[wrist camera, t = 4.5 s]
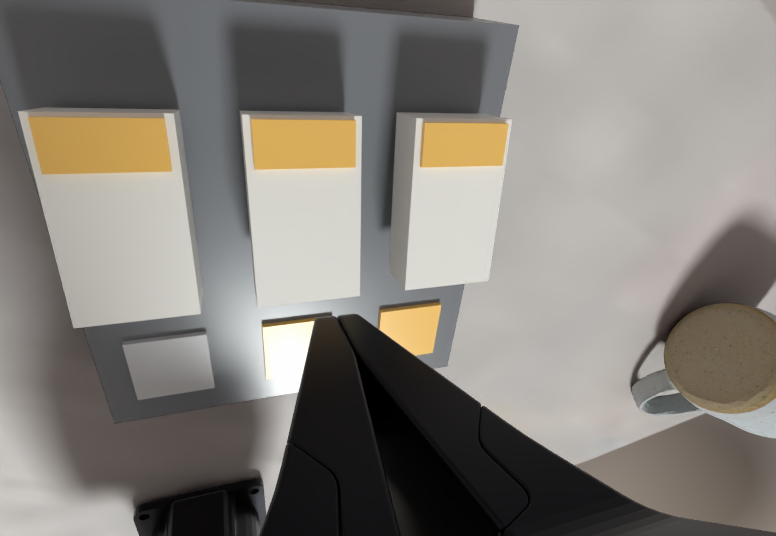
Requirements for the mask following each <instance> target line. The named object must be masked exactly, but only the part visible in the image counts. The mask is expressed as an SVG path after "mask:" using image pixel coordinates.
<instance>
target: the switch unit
mask: <svg viewBox="0 0 776 536" xmlns="http://www.w3.org/2000/svg"><path fill="white" fill-rule="evenodd" d="M518 28H519V25H513V24H507V23H501V22H496V21H490V20H484V19H478V18H470V17H459V16H448V15H437V14H426V13H415V12H404V11H393V10H382V9H370V8H359V7H348V6H337V5H326V4H315V3H304V2H293V1H281V0H0V82H1V85H2V88H3V91H4V94H5V97H6V100H7V103H8V106H9V109H10V112H11V115H12V118H13V121H14V124H15V127H16V130H17V133H18V136H19V139H20V142H21V145H22V148H23V151H24V154H25V157H26V160H27V163H28V165H29V168H30V171H31V174H32V177H33V180H34V183H35V186H36V189H37V192H38V188H37V184H36V180H35V176H34V173H33V169H32V165H31V161H30V157H29V153H28V149H27V145H26V141H25V138H24V134H23V130H22V126H21V122H20V118H19V114H18V111H23V110H30V109H37V108H43V107H52V108H113V109H175V110H180V117H181V125H182V133H183V140H184V148H185V156H186V163H187V171H188V179H189V186H190V194H191V201H192V209H193V217H194V224H195V232H196V240H197V247H198V255H199V263H200V270H201V278H202V286H203V297H202V308H201V314H197V315H188V316H179V317H170V318H162V319H153V320H144V321H135V322H126V323H117V324H108V325H99V326H91V327H83V330H84V333H85V336H86V339H87V342H88V345H89V348H90V351H91V354H92V357H93V360H94V363H95V366H96V369H97V372H98V375H99V378H100V381H101V384H102V387H103V390H104V393H105V396H106V399H107V402H108V405H109V408H110V411H111V414H112V417H113V420H114V423H115V424H116V423H122V422H127V421H133V420H139V419H145V418H151V417H156V416H162V415H168V414H174V413H180V412H185V411H191V410H197V409H203V408H208V407H214V406H220V405H226V404H232V403H237V402H243V401H249V400H255V399H261V398H266V397H272V396H278V395H284V394H290V393H295V392H299V387H300V383H301V378H302V374H303V369H304V365H305V361H306V356H307V352H308V347H309V343H310V338H311V334H312V329H313V325H314V321H315V319H316V318H318V317H326V316H335V317H336V318H337V316H339V315H345V314H354V313H355V314H358V315H360V316H361V317H363V318H364V319H365V320H367V321H368V322H369V323H371V324H372V325H374V326H375V327H376V328H378V329H379V330H380V331H382V332H383V333H385V334H386V335H387V336H389V337H390V338H391V339H393V340H394V341H396V342H397V343H398V344H400V345H401V346H402V347H404V348H405V349H407V350H408V351H409V352H411V353H412V354H413V355H415V356H416V357H418V358H419V359H420V360H422V361H423V362H424V363H426V364H427V365H429V366H430V367H431V368H433V369H434V368H440V367H446V366H447V365H448V360H449V356H450V351H451V346H452V341H453V337H454V332H455V327H456V322H457V318H458V313H459V308H460V303H461V299H462V294H463V289H464V284H458V285H449V286H440V287H431V288H422V289H414V290H404V289H403V287H402V286H401V285H400V284H399V282H398V281H397V280H396V279H395V277H394V276H393V275H392V274H391V272H390V271H389V256H390V236H391V216H392V196H393V176H394V156H395V136H396V115H397V112H408V113H468V114H488V115H493V116H498V117H500V114H501V109H502V104H503V99H504V95H505V90H506V85H507V80H508V76H509V71H510V66H511V61H512V57H513V52H514V47H515V42H516V38H517V33H518ZM240 111H298V112H348V113H352V114H356V115H360V116H362V152H361V244H360V296H357V297H348V298H339V299H330V300H321V301H312V302H303V303H295V304H286V305H277V306H268V307H259V308H258V306H257V300H256V293H255V287H254V276H253V264H252V252H251V240H250V228H249V217H248V205H247V193H246V181H245V169H244V157H243V145H242V133H241V122H240ZM38 195H39V192H38ZM39 198H40V196H39ZM40 201H41V200H40Z"/></svg>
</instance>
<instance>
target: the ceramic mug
mask: <svg viewBox="0 0 776 536" xmlns="http://www.w3.org/2000/svg"><path fill="white" fill-rule="evenodd" d="M664 363H665V368H666V369H663V370H660V371H657V372H654V373H651V374H649V375H647V376H646V377H643V378H642V379H640V380H638V381H637V382H636V383H635V384H634V385H633V387H632V395H633V397H634V400H635V402H636V405H637V407H638V409H639V410H640V411H641V412H643V413H645V414H648V415H655V416H672V415H681V414H687V413H694V412H699V411H704V412H706V413H708V414H710V415H713V416H715V417H717V418H720V419H722V420H724V421H726V422H728V423H730V424H732V425H735V426H737V427H739V428H741V429H743V430H745V431H748V432H750V433H753V434H757V435H760V436H764V437H770V438H776V316H775V315H773V314H771V313H769V312H767V311H764V310H762V309H759V308H756V307H752V306H747V305H742V304H737V303H717V304H712V305H706V306H703V307H700V308H698V309H696V310H695V311H693V312H691V313H689V314H687V315H686V316H685V317H683V318H682V319H681V320H680V321H679V322H678V323H677V324H676V325H675V326H674V328H673V329H672V331H671V332H670V334H669V336H668V338H667V341H666V344H665V348H664ZM672 390H677V391H679V392H680V393H676V394H671V395H663V396H659V395H661V394H664V393H667V392H669V391H672Z"/></svg>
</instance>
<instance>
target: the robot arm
mask: <svg viewBox="0 0 776 536" xmlns="http://www.w3.org/2000/svg"><path fill="white" fill-rule="evenodd" d="M134 522H135V525H136V528H137V531H138V533H139V536H776V533H775V532H768V531H762V530H756V529H749V528H743V527H737V526H731V525H724V524H718V523H711V522H706V521H699V520H693V519H687V518H681V517H676V516H672V515H668V514H665V513H661V512H658V511H656V510H653V509H651V508H648V507H646V506H644V505H641V504H639V503H637V502H635V501H633V500H631V499H630V498H628V497H626V496H624V495H622V494H621V493H619V492H618V491H616V490H614V489H613V488H611V487H609V486H608V485H606V484H604V483H603V482H601V481H599V480H598V479H596V478H594V477H592V476H591V475H589V474H588V473H586V472H584V471H583V470H581V469H580V468H578V467H576V466H575V465H573V464H571V463H570V462H568V461H566V460H565V459H563V458H561V457H560V456H558V455H556V454H555V453H553V452H552V451H550V450H548V449H547V448H545V447H544V446H542V445H540V444H539V443H537V442H536V441H534V440H533V439H531V438H529V437H528V436H526V435H525V434H523V433H522V432H520V431H519V430H517V429H516V428H515V427H513V426H512V425H510V424H509V423H507V422H506V421H504V420H503V419H502V418H500V417H499V416H497V415H496V414H495V413H493V412H492V411H491V410H489V409H488V408H486V407H485V406H482V407H481V404H480V403H479V402H478V401H477V400H475V399H474V398H472V397H471V396H470V395H468V394H467V393H466V392H464V391H463V390H461V389H460V388H459V387H457V386H456V385H455V384H453V383H452V382H450V381H449V380H448V379H446V378H445V377H444V376H442V375H441V374H439V373H438V372H437V371H435V370H434V369H433V368H431V367H430V366H429V365H427V364H426V363H424V362H423V361H422V360H420V359H419V358H418V357H416V356H415V355H413V354H412V353H411V352H409V351H408V350H407V349H405V348H404V347H402V346H401V345H400V344H398V343H397V342H396V341H394V340H393V339H391V338H390V337H389V336H387V335H386V334H385V333H383V332H382V331H380V330H379V329H378V328H376V327H375V326H374V325H372V324H371V323H369V322H368V321H367V320H365V319H364V318H363V317H361V316H360V315H358V314H355V313H354V314H345V315H339V316H337V318H336V317H335V316H326V317H318V318H316V319H315V321H314V325H313V329H312V334H311V338H310V343H309V347H308V352H307V356H306V361H305V365H304V369H303V374H302V378H301V383H300V387H299V392H298V396H297V401H296V405H295V409H294V414H293V418H292V423H291V427H290V432H289V436H288V440H287V445H286V448H285V452H284V457H283V461H282V466H281V469H280V473H279V477H278V481H277V484H276V488H275V492H274V495H273V498H272V501H271V503H270V506H269V509H268V512H267V515H266V509H265V498H264V487H263V482H262V481H261V480H259V479H254V480H249V481H245V482H240V483H236V484H231V485H227V486H222V487H218V488H213V489H209V490H205V491H200V492H196V493H191V494H187V495H182V496H178V497H173V498H169V499H165V500H160V501H156V502H151V503H147V504H143V505H140V506H138V507H137V508H136V509H135V511H134Z"/></svg>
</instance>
